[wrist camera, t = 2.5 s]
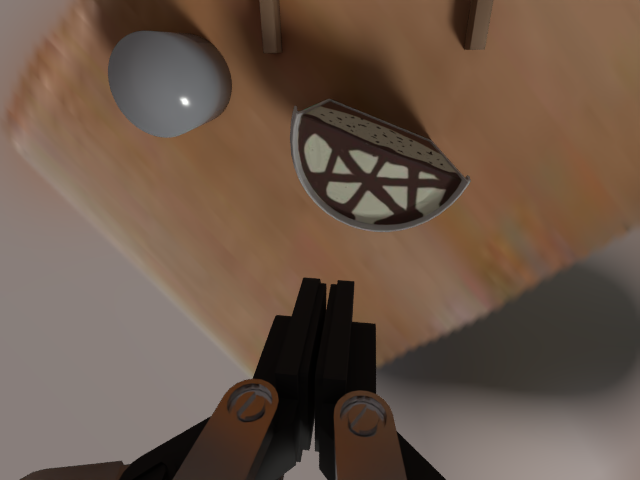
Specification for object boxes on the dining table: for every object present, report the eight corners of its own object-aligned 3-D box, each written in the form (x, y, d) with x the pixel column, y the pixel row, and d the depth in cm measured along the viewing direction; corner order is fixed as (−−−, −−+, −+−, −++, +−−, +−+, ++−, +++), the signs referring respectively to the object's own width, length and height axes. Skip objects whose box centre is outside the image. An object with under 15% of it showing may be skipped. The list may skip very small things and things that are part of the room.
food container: (290, 159, 33) (260, 200, 25) (312, 91, 30) (288, 110, 22) (414, 208, 34) (428, 264, 25) (447, 146, 31) (477, 186, 22)
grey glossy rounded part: (225, 32, 29) (193, 29, 24) (236, 122, 32) (210, 137, 27) (143, 34, 30) (95, 32, 25) (162, 122, 33) (123, 137, 28)
